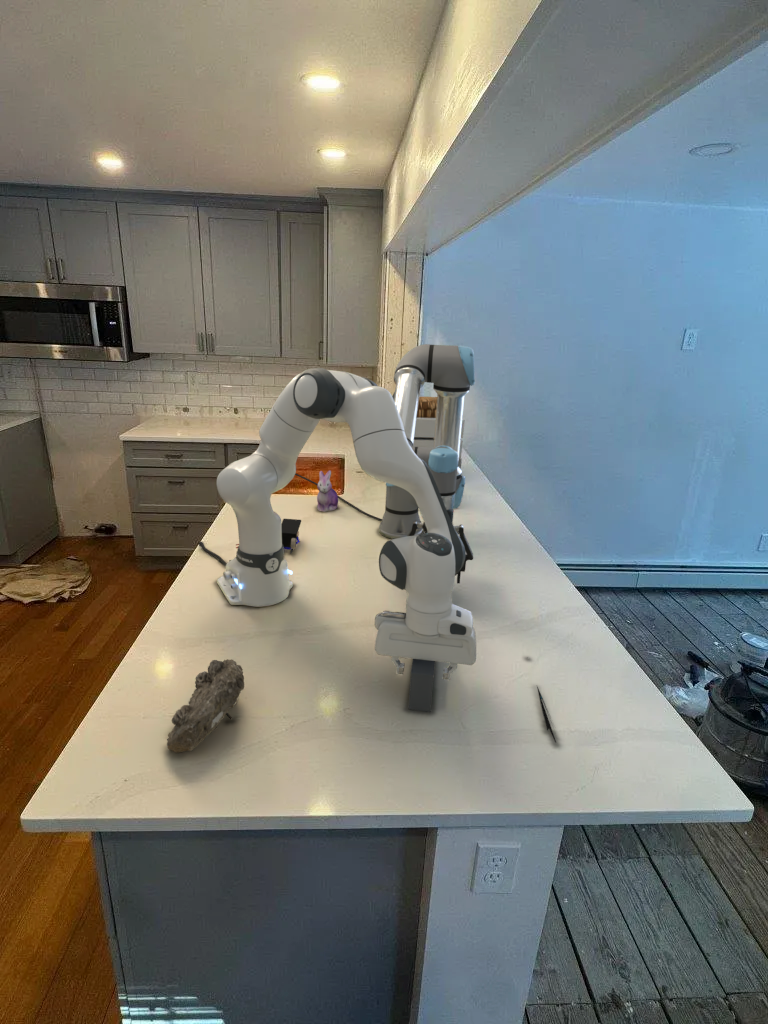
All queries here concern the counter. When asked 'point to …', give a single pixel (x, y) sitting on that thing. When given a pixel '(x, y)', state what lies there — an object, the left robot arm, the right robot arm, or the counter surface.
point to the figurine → (326, 493)
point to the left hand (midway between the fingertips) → (423, 675)
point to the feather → (545, 714)
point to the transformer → (429, 425)
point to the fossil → (206, 705)
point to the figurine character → (290, 533)
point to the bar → (421, 685)
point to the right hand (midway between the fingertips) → (433, 579)
